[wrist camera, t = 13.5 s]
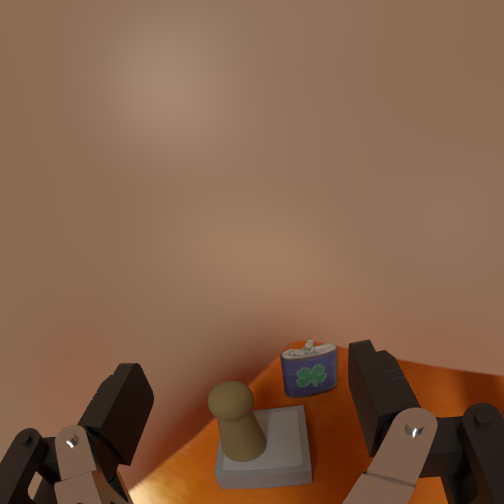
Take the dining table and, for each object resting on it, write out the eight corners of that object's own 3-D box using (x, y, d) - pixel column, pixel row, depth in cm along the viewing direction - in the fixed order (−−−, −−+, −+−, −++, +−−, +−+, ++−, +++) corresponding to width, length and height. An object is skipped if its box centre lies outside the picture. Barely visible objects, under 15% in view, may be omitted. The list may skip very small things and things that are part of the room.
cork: (230, 468, 31) (208, 416, 27) (216, 436, 36) (196, 382, 33) (274, 452, 32) (263, 397, 29) (256, 422, 38) (244, 367, 34)
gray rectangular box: (304, 421, 41) (303, 404, 40) (311, 483, 30) (311, 469, 29) (228, 427, 42) (223, 410, 41) (221, 488, 31) (213, 474, 30)
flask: (335, 379, 49) (334, 331, 46) (339, 390, 46) (339, 341, 43) (284, 389, 49) (277, 342, 46) (286, 401, 47) (279, 353, 43)
